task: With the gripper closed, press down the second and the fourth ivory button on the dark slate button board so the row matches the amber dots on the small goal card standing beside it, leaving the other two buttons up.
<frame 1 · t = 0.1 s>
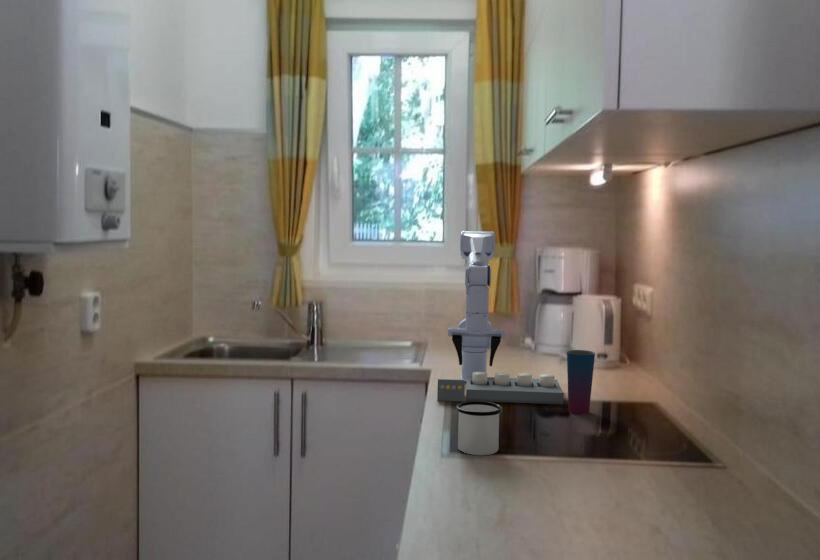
hand: (475, 364, 193), 10 cm above the worktop, fingers open, 7 cm apart
button 1: (479, 379, 204), point 4 cm above the worktop, slide at 0.0 cm
cup: (578, 412, 187), on the worktop
button 3: (524, 381, 203), point 4 cm above the worktop, slide at 0.0 cm
mug: (478, 448, 156), on the worktop
goal card: (450, 400, 196), on the worktop
board: (512, 395, 203), on the worktop
button 4: (546, 381, 203), point 4 cm above the worktop, slide at 0.0 cm
button 2: (502, 380, 204), point 4 cm above the worktop, slide at 0.0 cm
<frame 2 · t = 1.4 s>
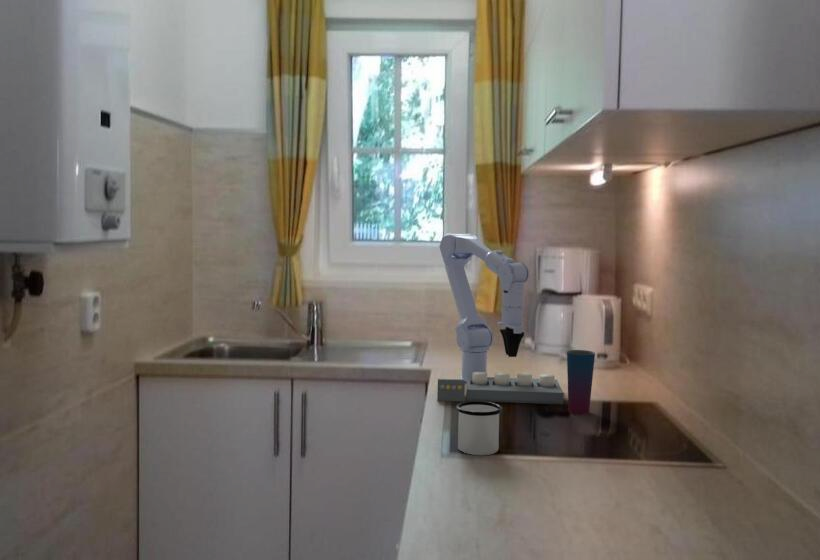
hand: (511, 355, 207), 10 cm above the worktop, fingers closed
nothing on the worktop moved.
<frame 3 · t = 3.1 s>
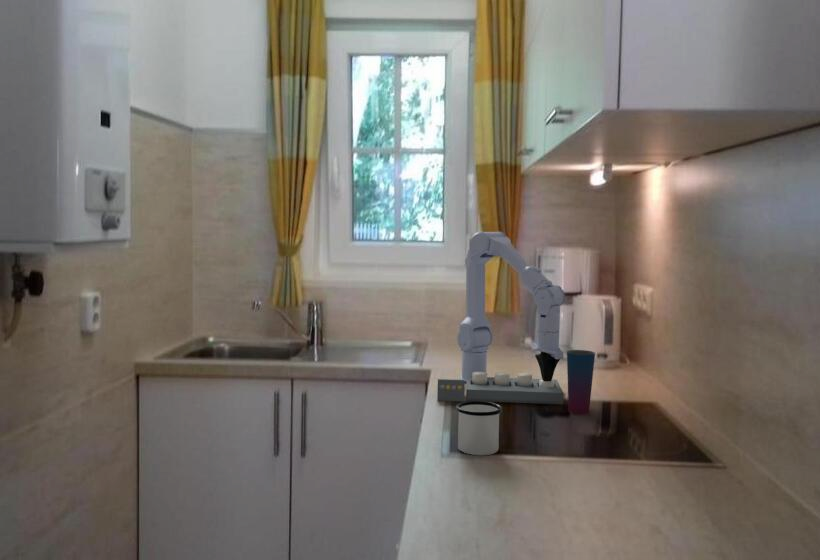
hand: (546, 381, 203), 4 cm above the worktop, fingers closed, pressing on button 4
button 4: (546, 386, 203), point 2 cm above the worktop, slide at -1.4 cm, touching gripper
everything else where it was.
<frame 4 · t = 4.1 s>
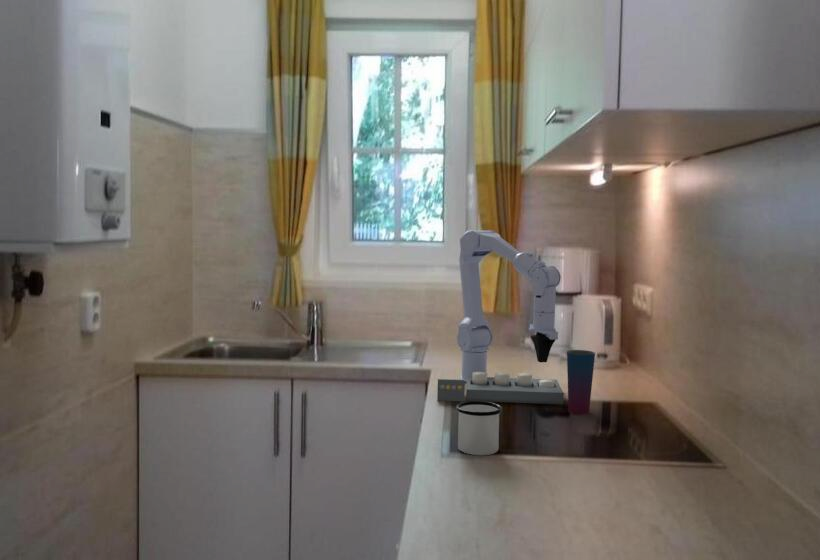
hand: (542, 361, 202), 9 cm above the worktop, fingers closed
button 4: (546, 387, 203), point 2 cm above the worktop, slide at -1.5 cm
everything else where it was.
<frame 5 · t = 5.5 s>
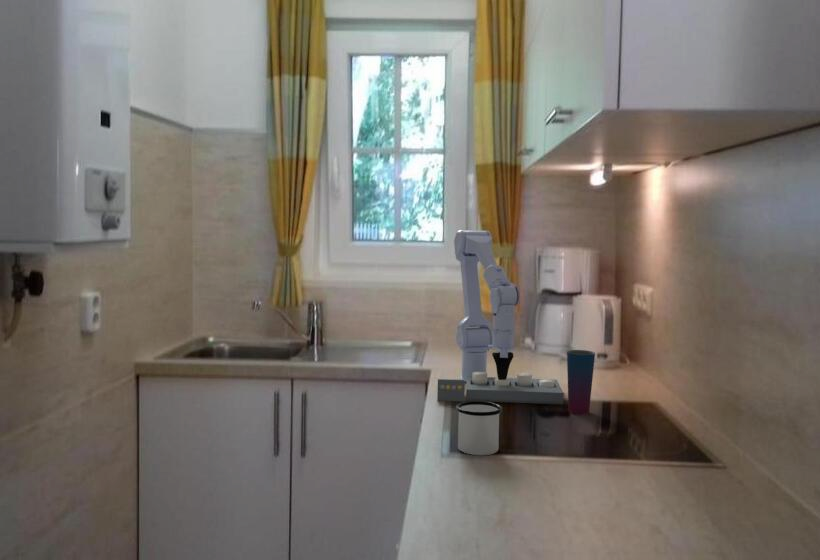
hand: (502, 379, 204), 4 cm above the worktop, fingers closed, pressing on button 2
button 2: (501, 385, 204), point 2 cm above the worktop, slide at -1.4 cm, touching gripper
everything else where it was.
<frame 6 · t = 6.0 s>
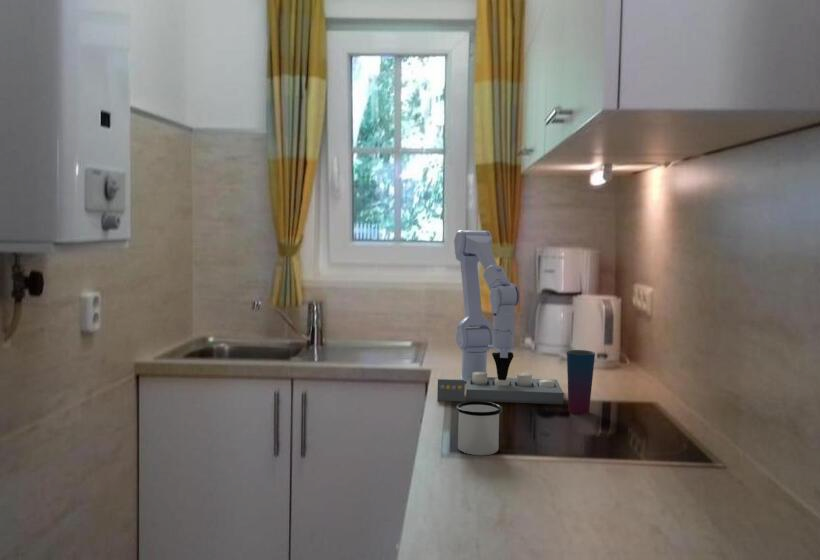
hand: (502, 379, 204), 4 cm above the worktop, fingers closed
button 2: (501, 385, 204), point 2 cm above the worktop, slide at -1.5 cm
everything else where it was.
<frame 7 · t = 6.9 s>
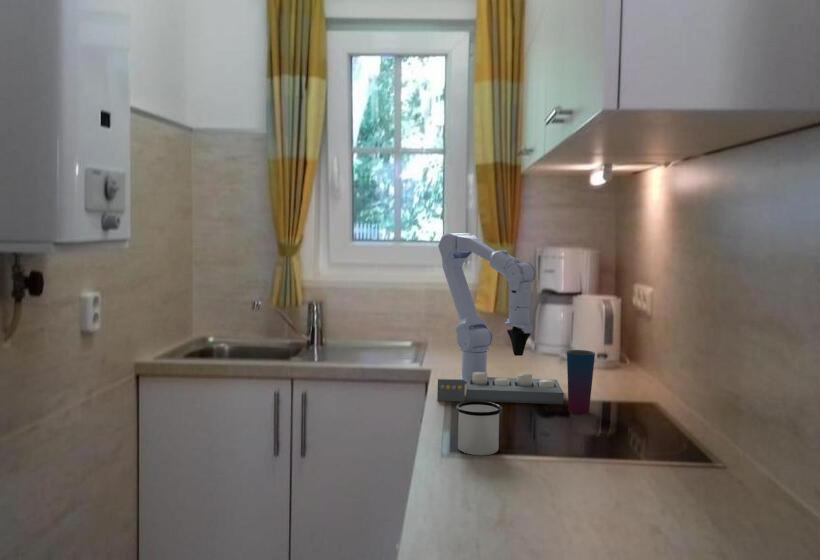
hand: (518, 355, 208), 10 cm above the worktop, fingers closed
nothing on the worktop moved.
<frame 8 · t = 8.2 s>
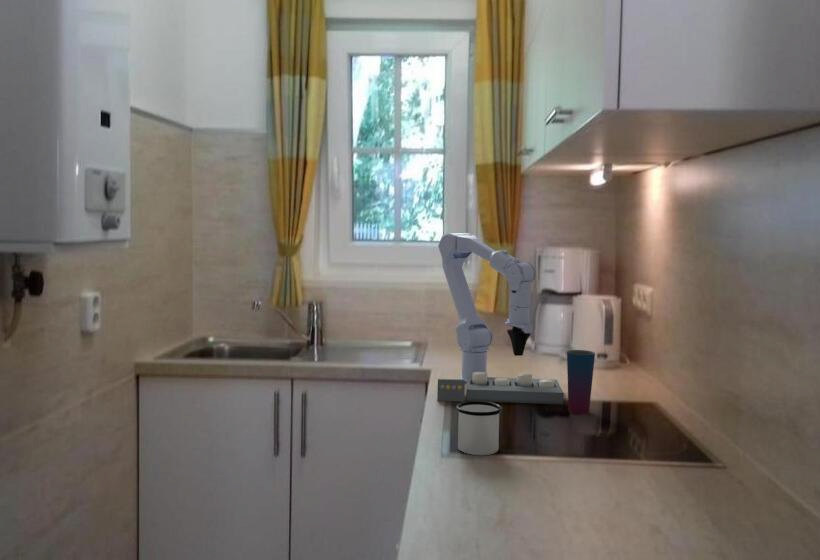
hand: (518, 355, 208), 10 cm above the worktop, fingers closed
nothing on the worktop moved.
at the end: button 2 slide at -1.5 cm; button 4 slide at -1.5 cm; button 3 slide at 0.0 cm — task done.
